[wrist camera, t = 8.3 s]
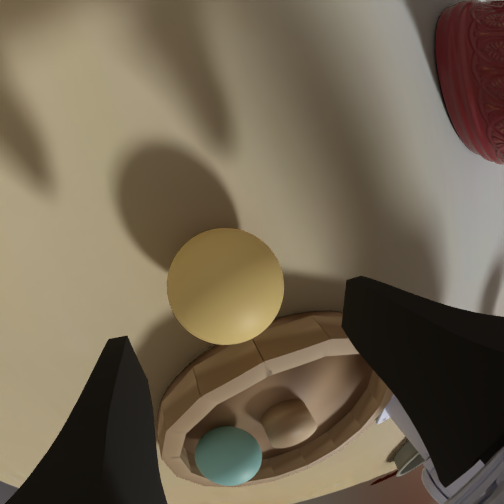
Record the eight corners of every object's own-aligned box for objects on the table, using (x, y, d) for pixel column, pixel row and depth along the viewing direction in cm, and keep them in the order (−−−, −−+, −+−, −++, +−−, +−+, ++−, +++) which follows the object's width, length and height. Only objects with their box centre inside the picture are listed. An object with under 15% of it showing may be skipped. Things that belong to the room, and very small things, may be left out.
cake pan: (478, 386, 49) (489, 396, 45) (414, 454, 54) (422, 465, 50) (455, 386, 38) (470, 401, 34) (367, 472, 43) (377, 487, 39)
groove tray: (399, 278, 18) (426, 298, 16) (359, 420, 27) (371, 438, 24) (116, 355, 14) (114, 394, 12) (192, 476, 22) (199, 499, 20)
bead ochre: (257, 205, 13) (305, 243, 9) (263, 291, 15) (302, 349, 11) (154, 224, 12) (156, 276, 8) (175, 312, 14) (189, 381, 10)
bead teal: (248, 407, 18) (271, 461, 14) (251, 437, 20) (271, 484, 16) (183, 421, 17) (195, 479, 13) (195, 450, 19) (208, 498, 15)
